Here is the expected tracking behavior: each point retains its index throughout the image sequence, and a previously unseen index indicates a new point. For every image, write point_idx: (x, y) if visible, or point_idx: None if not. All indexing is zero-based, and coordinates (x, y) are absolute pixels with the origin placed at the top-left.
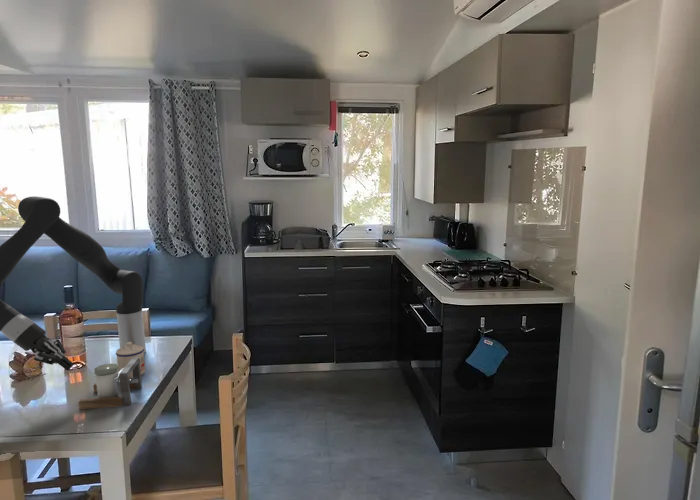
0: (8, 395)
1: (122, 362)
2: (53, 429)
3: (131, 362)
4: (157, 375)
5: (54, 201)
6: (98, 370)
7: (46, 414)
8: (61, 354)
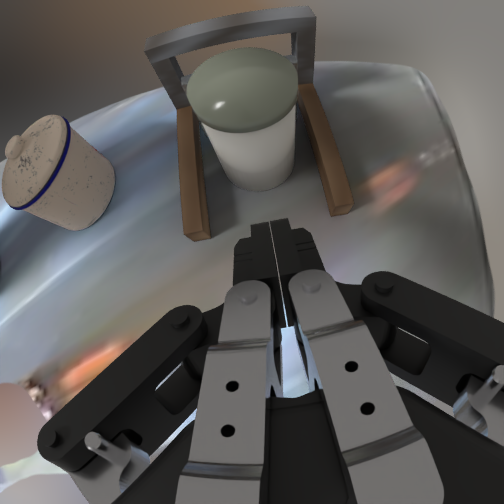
0: None
1: (79, 170)
2: (459, 222)
3: (200, 27)
4: (112, 118)
5: None
6: (279, 91)
7: None
8: (266, 302)
